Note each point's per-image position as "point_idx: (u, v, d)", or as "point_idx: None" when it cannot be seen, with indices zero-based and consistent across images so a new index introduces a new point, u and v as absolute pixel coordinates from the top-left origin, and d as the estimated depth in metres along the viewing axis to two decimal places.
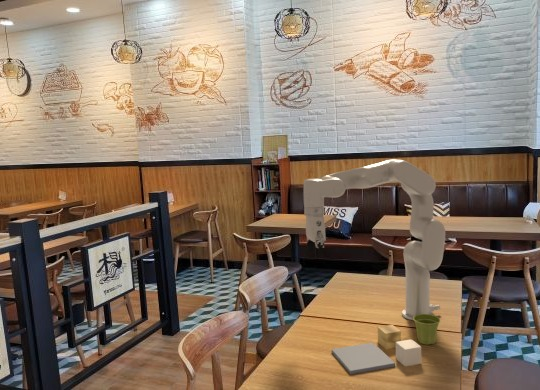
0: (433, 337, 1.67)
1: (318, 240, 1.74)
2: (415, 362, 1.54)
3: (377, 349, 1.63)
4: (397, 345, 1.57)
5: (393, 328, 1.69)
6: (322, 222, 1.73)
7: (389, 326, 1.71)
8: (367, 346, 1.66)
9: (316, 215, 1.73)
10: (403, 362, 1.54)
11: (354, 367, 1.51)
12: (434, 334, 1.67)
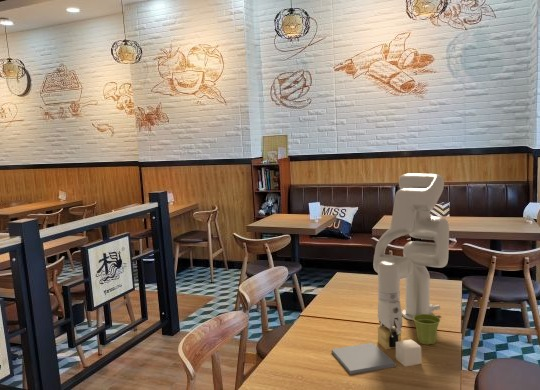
0: (433, 337, 1.67)
1: (393, 328, 1.64)
2: (415, 362, 1.54)
3: (377, 349, 1.63)
4: (397, 345, 1.57)
5: None
6: (399, 309, 1.63)
7: None
8: (367, 346, 1.66)
9: (393, 301, 1.63)
10: (403, 362, 1.54)
11: (354, 367, 1.51)
12: (434, 334, 1.67)
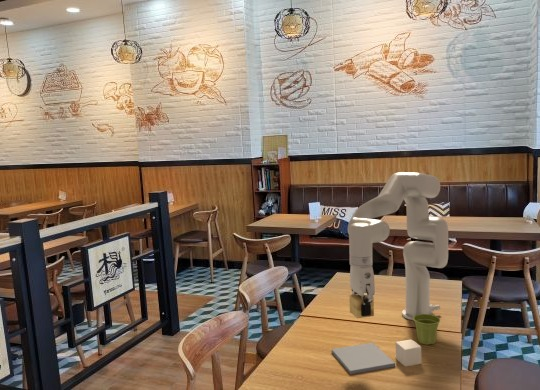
0: (433, 337, 1.67)
1: (365, 295, 1.52)
2: (415, 362, 1.54)
3: (377, 349, 1.63)
4: (397, 345, 1.57)
5: None
6: (371, 274, 1.51)
7: None
8: (367, 346, 1.66)
9: (364, 266, 1.51)
10: (403, 362, 1.54)
11: (354, 367, 1.51)
12: (434, 334, 1.67)
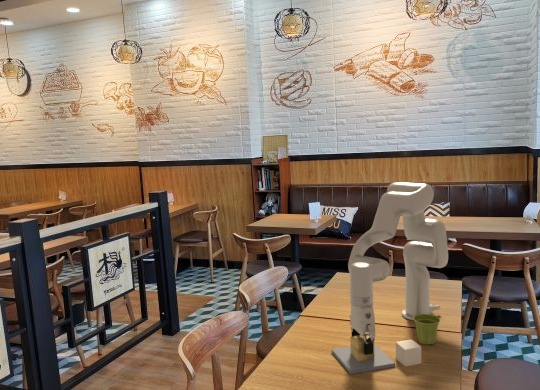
0: (433, 337, 1.67)
1: (367, 334, 1.53)
2: (415, 362, 1.54)
3: (377, 349, 1.63)
4: (397, 345, 1.57)
5: (367, 338, 1.59)
6: (372, 314, 1.52)
7: (362, 336, 1.60)
8: None
9: (365, 306, 1.53)
10: (403, 362, 1.54)
11: (354, 367, 1.51)
12: (434, 334, 1.67)
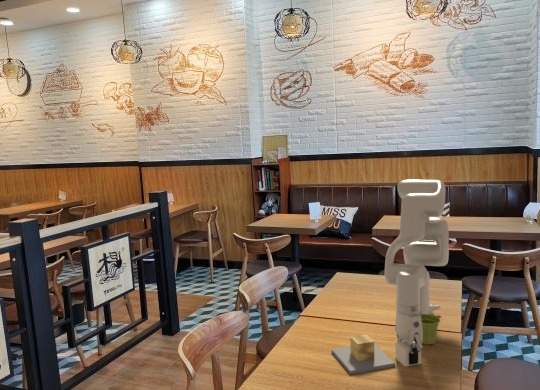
0: (433, 337, 1.67)
1: (413, 344, 1.52)
2: None
3: (377, 349, 1.63)
4: (397, 345, 1.57)
5: (367, 338, 1.59)
6: (420, 323, 1.50)
7: (362, 336, 1.60)
8: None
9: (413, 314, 1.51)
10: (403, 362, 1.54)
11: (354, 367, 1.51)
12: (434, 334, 1.67)
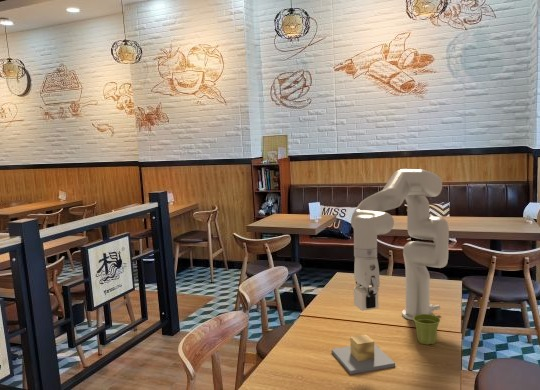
0: (433, 337, 1.67)
1: (370, 288, 1.52)
2: None
3: (377, 349, 1.63)
4: (355, 290, 1.56)
5: (367, 338, 1.59)
6: (376, 266, 1.50)
7: (362, 336, 1.60)
8: None
9: (369, 257, 1.50)
10: (360, 306, 1.53)
11: (354, 367, 1.51)
12: (434, 334, 1.67)
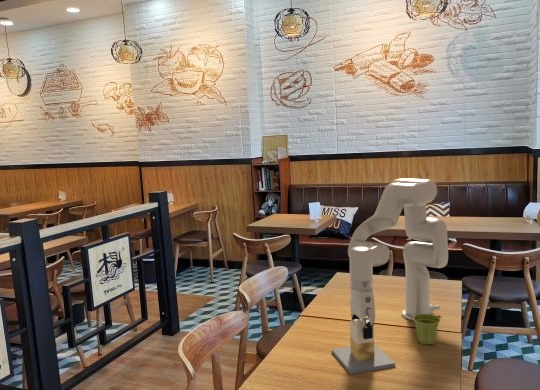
0: (433, 337, 1.67)
1: (367, 318, 1.53)
2: (368, 340, 1.55)
3: (377, 349, 1.63)
4: (351, 323, 1.58)
5: None
6: (371, 298, 1.52)
7: None
8: None
9: (365, 290, 1.52)
10: (356, 339, 1.55)
11: (354, 367, 1.51)
12: (434, 334, 1.67)
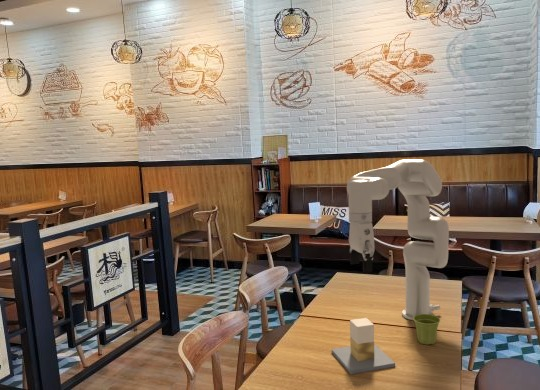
0: (433, 337, 1.67)
1: (366, 251, 1.49)
2: (368, 340, 1.55)
3: (377, 349, 1.63)
4: (351, 323, 1.58)
5: None
6: (371, 230, 1.49)
7: None
8: None
9: (364, 222, 1.49)
10: (356, 339, 1.55)
11: (354, 367, 1.51)
12: (434, 334, 1.67)
